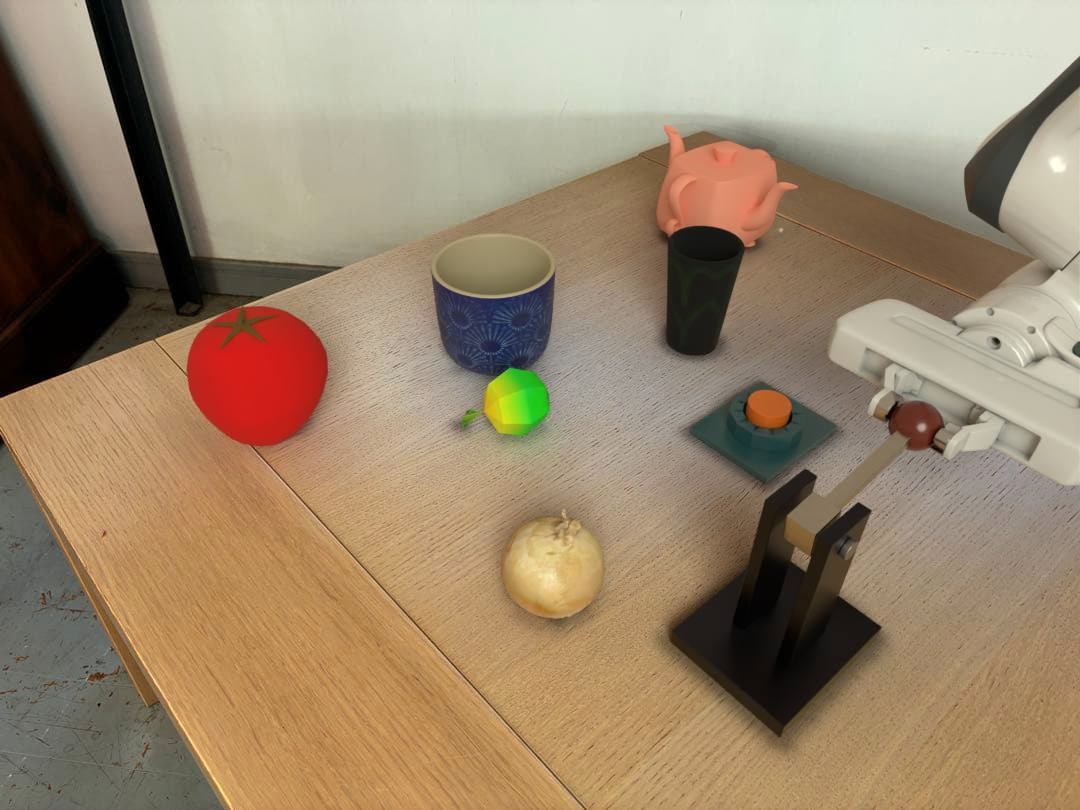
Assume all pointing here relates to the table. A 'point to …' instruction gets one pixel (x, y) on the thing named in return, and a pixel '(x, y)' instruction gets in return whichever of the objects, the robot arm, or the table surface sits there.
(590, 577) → the onion
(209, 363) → the tomato
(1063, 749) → the table surface
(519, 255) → the planter
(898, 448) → the lever
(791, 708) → the bracket
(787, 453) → the button box
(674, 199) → the teapot
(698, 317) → the cup
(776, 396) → the button
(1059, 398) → the robot arm
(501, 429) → the apple
